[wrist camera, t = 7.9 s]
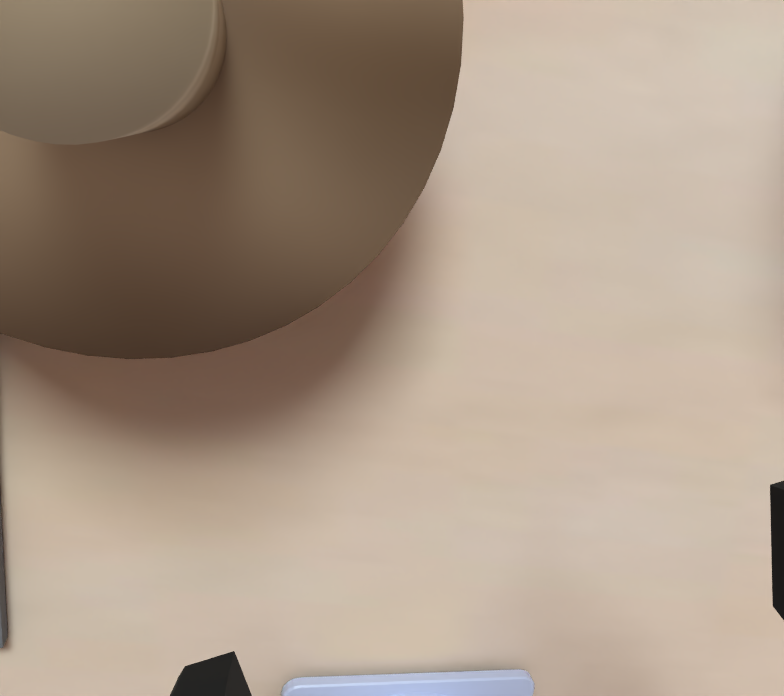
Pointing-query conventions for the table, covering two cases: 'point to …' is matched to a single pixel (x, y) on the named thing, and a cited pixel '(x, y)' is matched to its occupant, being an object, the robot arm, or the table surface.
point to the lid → (207, 161)
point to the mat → (2, 592)
